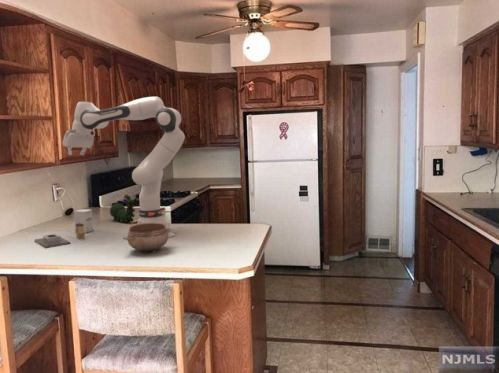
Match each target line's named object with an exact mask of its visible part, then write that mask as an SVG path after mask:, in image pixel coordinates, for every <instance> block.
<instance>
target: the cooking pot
mask: <svg viewBox="0 0 499 373" xmlns="http://www.w3.org/2000/svg"><path fill="white" fill-rule="evenodd" d="M165 226H166V224H165V223H162V222H144V223H138V222H137V223H134V224H130V225H128V233H127V237H124V236H123V237H122V240H125V241H127V243H128V245H129V246H130V247H131V248H133V249H135V250H136V251H139V252H141V253H143V254H148V253H155V252H156V251H158V250H159V249H160V248H162V247H163V246H165V245H166V243H167V242H168V239H169V238H168V233H169V232H171V230H172V229H171V228H167V229H166V227H165ZM167 230H168V231H167ZM154 251H155V252H154Z"/></svg>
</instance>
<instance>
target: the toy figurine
mask: <svg viewBox="0 0 499 373" xmlns="http://www.w3.org/2000/svg"><path fill="white" fill-rule="evenodd" d="M123 198H124V199H125V200H127V202H126V207H125V206H124V205H123V204H122V203H118V202H117V203H114V204H113V205H111V207H110V209H109V214H110V216H111V217H112V218H113V220H114V221H116V222H120V223H121V224H123V223H127V222H128V223H129V222H133V221H134V217H135V216H136V215H135V214H134V212H135V211H136V209H134V207H135V204H134V203H135V201H134V200H133V199H132V198H131V196H130V195H128V194H125V195H124V197H123Z"/></svg>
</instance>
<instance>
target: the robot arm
mask: <svg viewBox="0 0 499 373" xmlns="http://www.w3.org/2000/svg"><path fill="white" fill-rule="evenodd" d="M73 117H74V118H73V121H72V126H71V129H68V130H67V131H66V132H65V134H64V136H63V140H62V146H63V147H66V150H67V155H68V156H73V151H72V150H73V148H81V151H80V152H79V155H80V156H84V155H85V152H86V151H87V150H88V149H89V148H92V147H93V145H94V141H95V135H96V131H94V129H96V130H97V129H98V130H99V129H105V128H106V127H107V126H109V124H110V122H112V121H117V120H128V121H142V120H146V119H151V118H155V122H156V124H157V126H158V127H159V128H160V130H161V131H162V132H163V133H164V134H162V135H163V136H162V137H161V138H160V139H159V140H158V142H157V144H156V145H155V146H154V147H153V149H152V151H150V152H149V154H148V155H146V156H145V158H144V159H142V161H141V162H140V164H138V165H137V167H135V168H134V169H133V171H132V173H131V178H132V180H133V182H134V183H135V184H136V185H139V186H141V189H140V192H139V195H138V196H139V198H138V199H139V202H138V203H139V211H138V215H139V219H138V220H137V223H144V222H162V223H165V224H166V226H165V227H166V229H167V228H170V227H171V225H170V222H168V221H167V220H166V219H165V218H164V216H163V210H162V208H161V187H162V180H163V179H162V178H163V176H164V170H163V169H165V168H166V167H167V166H168V165H169V164H170V162H172V160H173V158H174V157H175V156H176V154H177V153H178V152H179V151H180V149H181V147H182V145H183V143H184V141H185V139H186V136H185V133H184V132H183V131H182V130H181V129H180V125H181V124H182V122H183V116H182V113H181V112H180V111H179V110H178V109H176V108H173V107H170V106H165V104H164V102H163V99H162V98H161V97H159V96H146V97H141V98H137V99H134V100H131V101H128V102H126V103H123V104H121V105H118V106H114V107H110V108H105V109H100V108H98V107H97V106H96V105H95V104H94V103H93V102H92V101H86V100H82V101H78V102H77V104H76V106H75V109H74V114H73ZM170 229H171V228H170ZM167 231H168V230H167ZM174 235H175V233H173V232H171V231H170V232H169V233H168V239H169V237H170V238H173V237H175V236H174ZM172 236H173V237H172Z"/></svg>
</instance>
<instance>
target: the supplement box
mask: <svg viewBox="0 0 499 373" xmlns="http://www.w3.org/2000/svg"><path fill="white" fill-rule="evenodd" d="M73 216H74V229H75V230H74V231H75V234H76V225H75V224H78V223H81V224H83V226H84V234H88V233H89V232H92V231H94V223H93V222H94V219H93V218H94V217H93V210H92V209H83V208H82V209H78V210H75V211H73Z"/></svg>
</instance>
